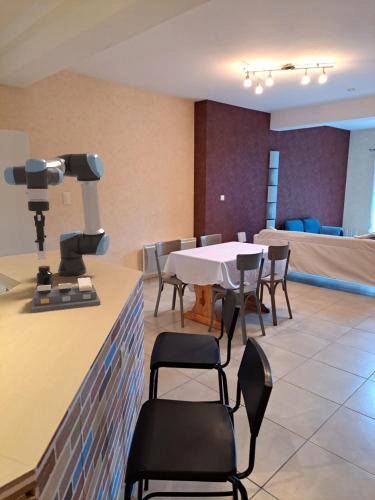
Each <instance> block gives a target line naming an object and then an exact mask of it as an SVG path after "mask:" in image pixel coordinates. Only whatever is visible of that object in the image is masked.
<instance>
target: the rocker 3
mask: <svg viewBox="0 0 375 500" xmlns="http://www.w3.org/2000/svg"><path fill="white" fill-rule="evenodd" d="M92 285H93V284H92V281H91V277H90V276H89V277H79V278H77V286H79V290H80V291H88V290H92Z"/></svg>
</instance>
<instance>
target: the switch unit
mask: <svg viewBox="0 0 375 500" xmlns="http://www.w3.org/2000/svg"><path fill="white" fill-rule="evenodd" d="M96 290H97V289H96V288H95V286H94V284H92V290H88V291H80V290H79V285H77V286H74V285H72V288H65V289H59V287H53V288H52V289H51V290H44V291H37V289H34V293H33V296H32V298H31V304H30V305H31V306H30V312H31V313H37V312H38V313H39V312H47V311H48V312H49V311H56V310H64V309H75V308H81V307H91V306H92V307H93V306H101V299H100V298H99V295H98V293H97V291H96Z"/></svg>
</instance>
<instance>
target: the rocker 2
mask: <svg viewBox="0 0 375 500" xmlns="http://www.w3.org/2000/svg"><path fill="white" fill-rule="evenodd" d="M72 287H73V284H72V283H71V282H67V283H58V286H57V288H59V289H65V288H72Z"/></svg>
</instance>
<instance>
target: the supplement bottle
mask: <svg viewBox="0 0 375 500" xmlns="http://www.w3.org/2000/svg"><path fill="white" fill-rule="evenodd" d="M37 269H38V272H37V273H36V275H35V277H36V288H37V287H38V286H43V285H51V289H52V288H54V280H53V279H54V278H53V272H52V271H51V268H50V265H40V266H39V265H38V267H37Z"/></svg>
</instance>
